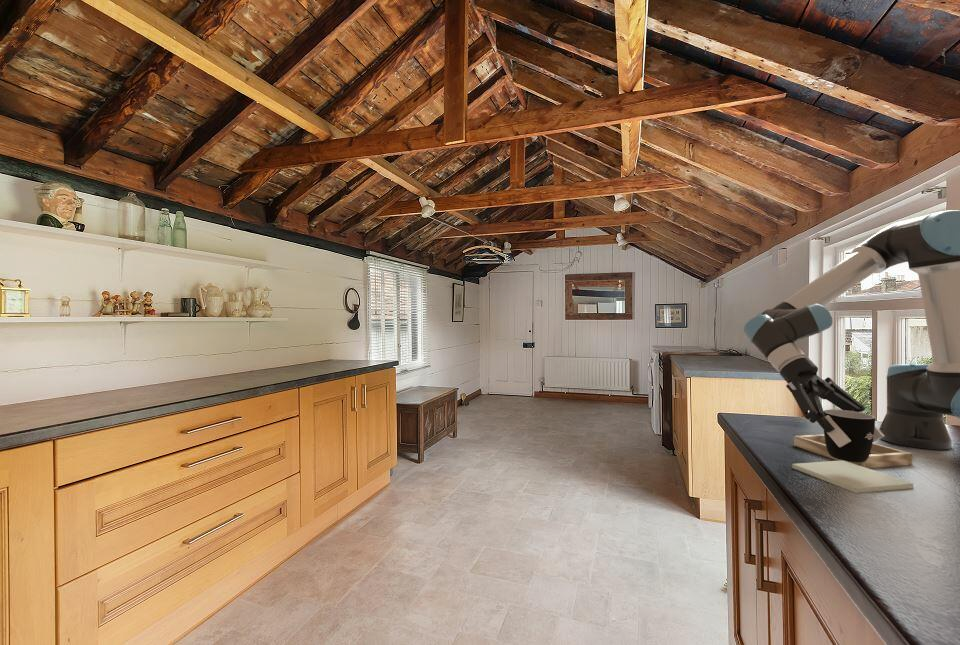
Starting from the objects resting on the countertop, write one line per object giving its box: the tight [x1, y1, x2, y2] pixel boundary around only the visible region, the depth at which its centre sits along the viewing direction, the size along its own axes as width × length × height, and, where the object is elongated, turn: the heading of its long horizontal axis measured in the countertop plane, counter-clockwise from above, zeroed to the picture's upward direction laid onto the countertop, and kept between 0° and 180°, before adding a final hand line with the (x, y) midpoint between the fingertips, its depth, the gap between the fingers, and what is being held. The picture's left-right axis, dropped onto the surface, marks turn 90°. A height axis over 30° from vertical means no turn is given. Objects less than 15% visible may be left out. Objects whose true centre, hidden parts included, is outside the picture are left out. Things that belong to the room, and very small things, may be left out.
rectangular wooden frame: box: [793, 433, 913, 469], centre depth 115 cm, size 15×18×3 cm
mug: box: [823, 409, 876, 462], centre depth 99 cm, size 12×9×10 cm
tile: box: [791, 460, 915, 494], centre depth 99 cm, size 15×15×1 cm
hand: (862, 441), depth 96 cm, fingers closed on mug, 11 cm apart
